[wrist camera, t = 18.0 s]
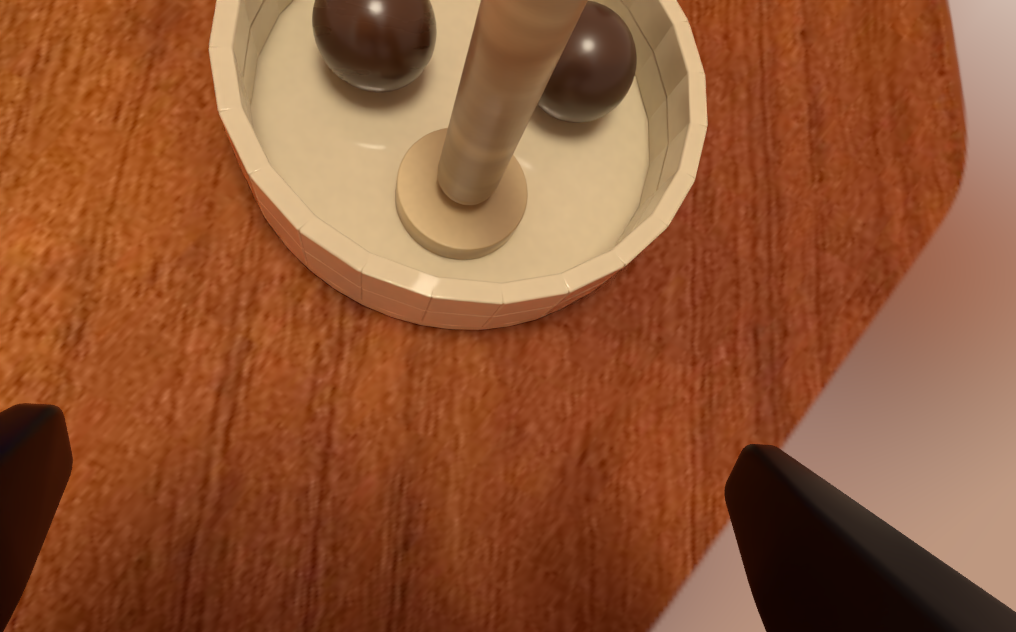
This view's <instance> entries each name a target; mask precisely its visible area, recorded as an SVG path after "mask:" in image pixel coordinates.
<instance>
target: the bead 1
mask: <svg viewBox="0 0 1016 632" xmlns="http://www.w3.org/2000/svg"><path fill="white" fill-rule="evenodd" d="M312 28H313V34H314V38H315V42H316V45H317V48H318V50H319V52H320V54H321V56H322V58H323V59H324V61H325V62H326V64H327V65H328V66H329V68H330V69H331V70H332V71H333V72H334V73H335V74H336V75H337V76H338V77H339V78H340V79H342V80H343V81H345V82H346V83H348V84H350V85H351V86H353V87H356V88H358V89H361V90H364V91H369V92H376V93H383V92H391V91H394V90H398V89H400V88H403V87H405V86H407V85H408V84H410V83H411V82H413V81H414V80H415V79H416V78H418V77H419V76H420V74H421V73H422V72H423V71H424V70H425V68H426V67H427V65H428V63H429V61H430V59H431V57H432V54H433V52H434V48H435V43H436V34H437V29H436V19H435V14H434V10H433V7H432V4H431V2H430V0H315V2H314V5H313V12H312Z"/></svg>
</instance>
